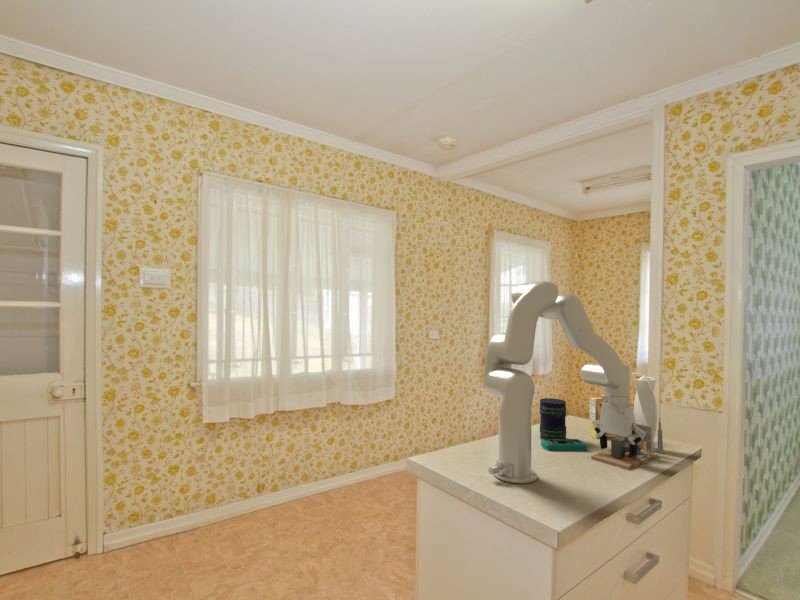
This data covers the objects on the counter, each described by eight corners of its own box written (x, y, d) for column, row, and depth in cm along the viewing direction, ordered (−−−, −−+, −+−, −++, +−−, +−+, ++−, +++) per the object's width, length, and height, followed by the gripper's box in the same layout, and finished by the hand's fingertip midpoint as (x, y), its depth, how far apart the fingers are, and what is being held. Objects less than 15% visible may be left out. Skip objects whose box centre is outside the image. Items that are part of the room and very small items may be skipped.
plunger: (629, 460, 134) (629, 443, 134) (611, 455, 139) (611, 439, 139) (647, 453, 141) (647, 437, 142) (629, 448, 146) (629, 433, 146)
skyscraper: (638, 453, 147) (637, 373, 148) (629, 446, 155) (628, 371, 156) (664, 454, 146) (662, 374, 147) (654, 447, 153) (653, 371, 155)
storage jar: (534, 436, 165) (534, 398, 166) (555, 434, 168) (554, 397, 169) (550, 444, 156) (550, 403, 157) (572, 441, 159) (571, 402, 160)
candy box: (608, 434, 170) (607, 396, 170) (615, 437, 166) (615, 398, 166) (589, 435, 168) (588, 397, 168) (596, 438, 164) (595, 399, 164)
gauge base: (628, 469, 130) (627, 438, 130) (591, 459, 140) (591, 429, 140) (657, 457, 142) (657, 428, 143) (622, 448, 152) (621, 420, 152)
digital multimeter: (539, 445, 155) (539, 437, 155) (578, 446, 155) (578, 438, 155) (546, 452, 148) (546, 443, 148) (587, 452, 148) (587, 444, 148)
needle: (645, 454, 138) (645, 442, 138) (640, 453, 139) (640, 441, 140) (647, 454, 139) (646, 441, 139) (641, 452, 140) (641, 440, 140)
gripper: (586, 397, 144) (587, 447, 143) (639, 406, 130) (640, 461, 129) (598, 395, 148) (598, 443, 148) (650, 403, 134) (651, 457, 133)
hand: (618, 452), depth 138 cm, fingers open, 9 cm apart
